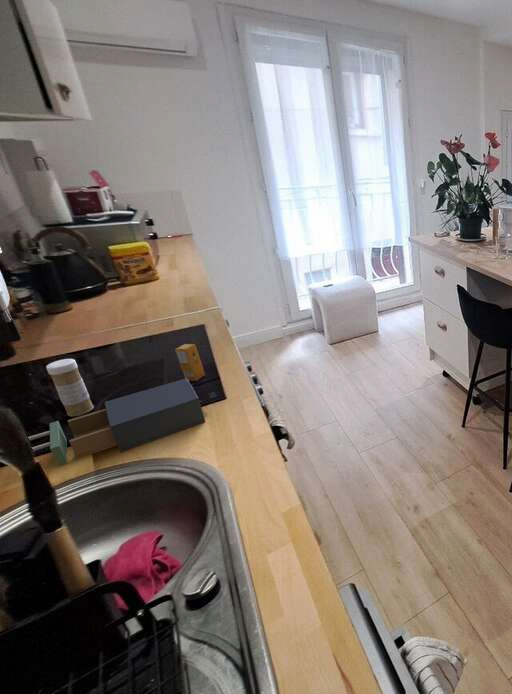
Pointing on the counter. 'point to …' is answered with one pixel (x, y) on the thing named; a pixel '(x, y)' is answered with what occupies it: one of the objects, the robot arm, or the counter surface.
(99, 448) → the drawer
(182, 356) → the supplement box
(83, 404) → the sprinkles bottle
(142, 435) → the cabinet
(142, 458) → the counter surface
